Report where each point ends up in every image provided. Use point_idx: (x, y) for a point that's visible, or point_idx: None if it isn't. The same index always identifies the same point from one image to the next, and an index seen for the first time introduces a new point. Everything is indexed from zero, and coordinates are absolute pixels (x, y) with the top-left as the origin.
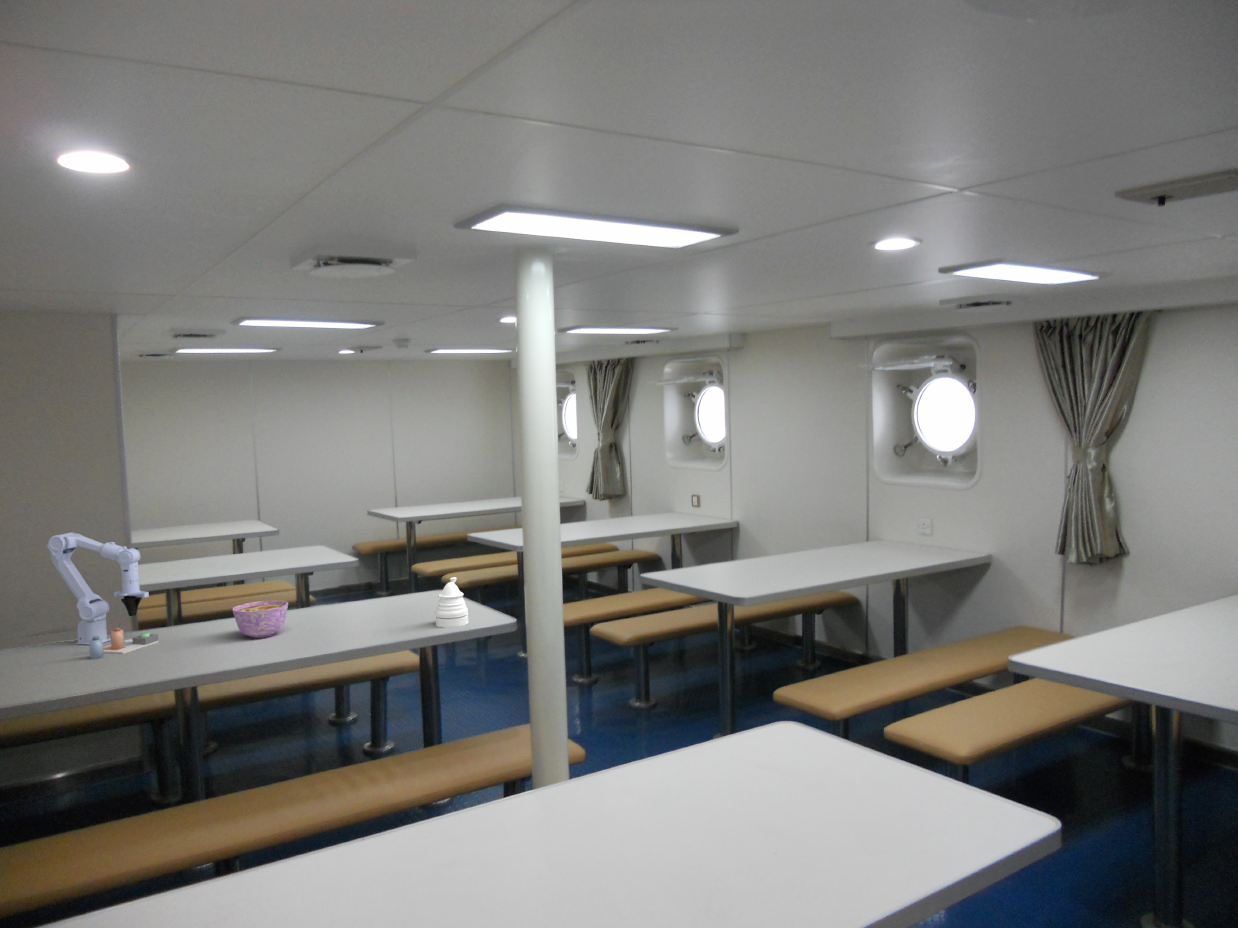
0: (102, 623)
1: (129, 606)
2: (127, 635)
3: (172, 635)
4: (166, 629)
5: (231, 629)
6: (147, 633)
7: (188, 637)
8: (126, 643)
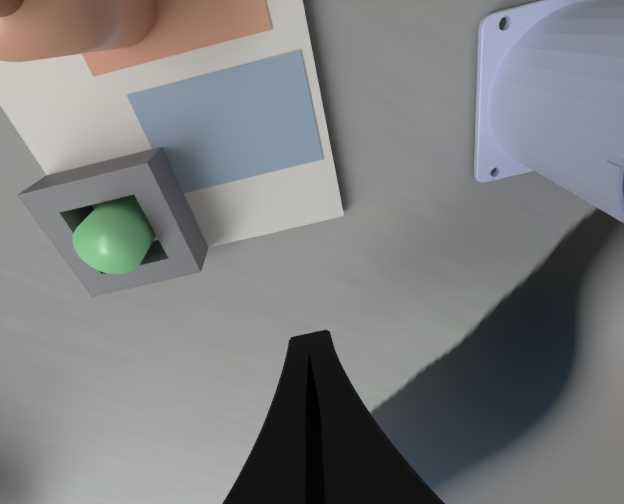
0: (587, 149)
1: (288, 438)
2: (475, 274)
3: (215, 358)
4: (371, 395)
5: (84, 478)
6: (92, 254)
7: (84, 369)
8: (226, 135)
